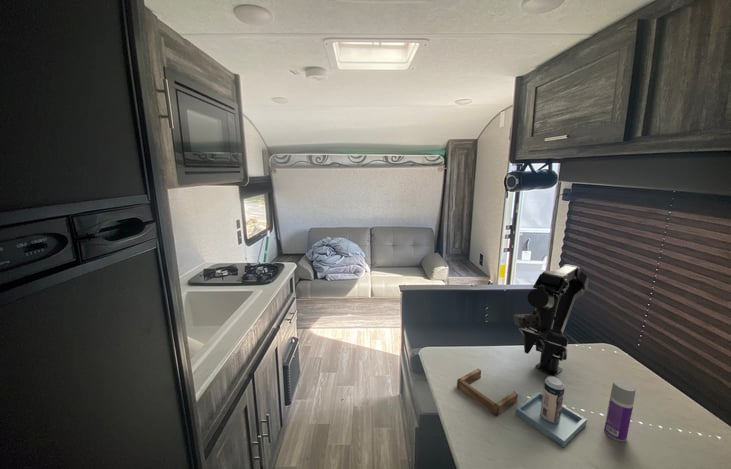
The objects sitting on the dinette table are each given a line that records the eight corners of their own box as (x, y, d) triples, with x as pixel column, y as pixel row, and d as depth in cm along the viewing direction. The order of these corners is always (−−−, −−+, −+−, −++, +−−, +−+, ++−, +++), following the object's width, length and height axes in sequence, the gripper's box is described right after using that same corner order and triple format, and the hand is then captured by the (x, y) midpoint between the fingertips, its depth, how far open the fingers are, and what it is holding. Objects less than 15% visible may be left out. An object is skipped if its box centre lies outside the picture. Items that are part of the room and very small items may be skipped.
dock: (477, 376, 103) (478, 368, 102) (517, 402, 91) (518, 393, 90) (456, 387, 97) (457, 379, 96) (496, 416, 85) (497, 407, 85)
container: (630, 443, 77) (641, 392, 74) (610, 439, 78) (619, 390, 75) (619, 428, 81) (628, 380, 79) (600, 425, 82) (608, 378, 79)
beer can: (560, 426, 81) (566, 388, 79) (540, 420, 83) (545, 383, 81) (558, 414, 85) (564, 378, 83) (539, 408, 87) (544, 373, 85)
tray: (538, 396, 93) (539, 391, 93) (585, 425, 82) (586, 419, 82) (514, 413, 86) (515, 407, 86) (563, 447, 75) (564, 441, 75)
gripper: (507, 299, 104) (496, 342, 103) (537, 308, 86) (524, 360, 85) (538, 308, 104) (527, 351, 103) (574, 319, 85) (562, 372, 84)
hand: (533, 357), depth 94 cm, fingers open, 9 cm apart
